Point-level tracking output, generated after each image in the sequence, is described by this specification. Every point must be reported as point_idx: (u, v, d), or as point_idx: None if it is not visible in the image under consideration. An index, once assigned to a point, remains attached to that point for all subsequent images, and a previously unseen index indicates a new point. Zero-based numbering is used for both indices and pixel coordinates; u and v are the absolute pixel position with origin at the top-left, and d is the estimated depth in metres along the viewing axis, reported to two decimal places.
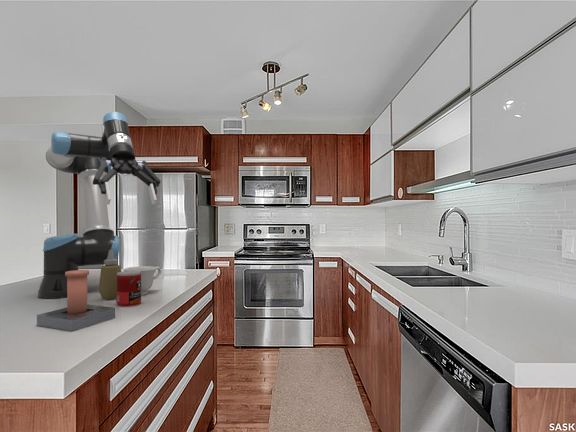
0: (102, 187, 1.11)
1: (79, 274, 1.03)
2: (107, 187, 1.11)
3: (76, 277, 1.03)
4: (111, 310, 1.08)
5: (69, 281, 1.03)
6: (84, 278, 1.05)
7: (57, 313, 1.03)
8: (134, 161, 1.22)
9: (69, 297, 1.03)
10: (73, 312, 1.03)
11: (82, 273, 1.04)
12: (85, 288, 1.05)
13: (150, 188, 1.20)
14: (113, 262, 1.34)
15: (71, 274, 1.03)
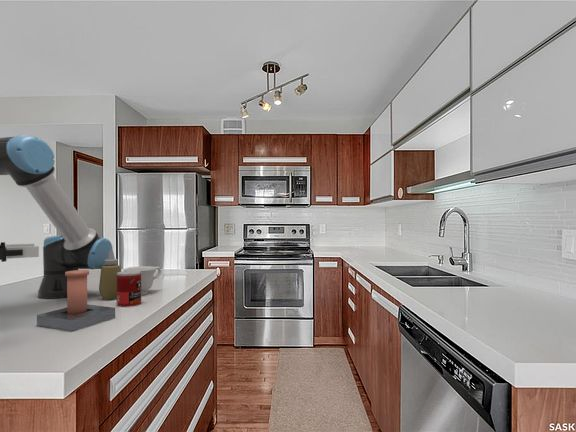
0: None
1: (79, 274, 1.03)
2: None
3: (76, 277, 1.03)
4: (111, 310, 1.08)
5: (69, 281, 1.03)
6: (84, 278, 1.05)
7: (57, 313, 1.03)
8: None
9: (69, 297, 1.03)
10: (73, 312, 1.03)
11: (82, 273, 1.04)
12: (85, 288, 1.05)
13: None
14: (113, 262, 1.34)
15: (71, 274, 1.03)
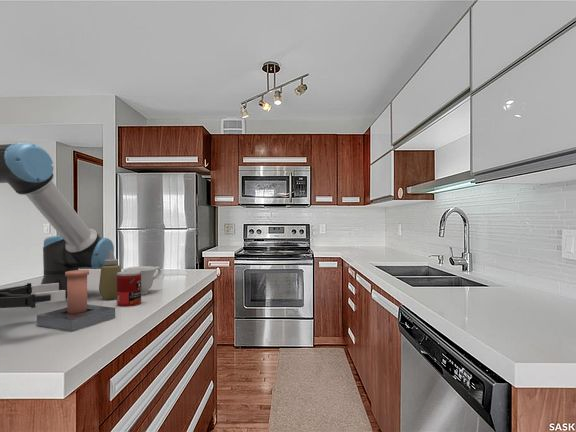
0: None
1: (79, 274, 1.03)
2: None
3: (76, 277, 1.03)
4: (111, 310, 1.08)
5: (69, 281, 1.03)
6: (84, 278, 1.05)
7: (57, 313, 1.03)
8: None
9: (69, 297, 1.03)
10: (73, 312, 1.03)
11: (82, 273, 1.04)
12: (85, 288, 1.05)
13: None
14: (113, 262, 1.34)
15: (71, 274, 1.03)
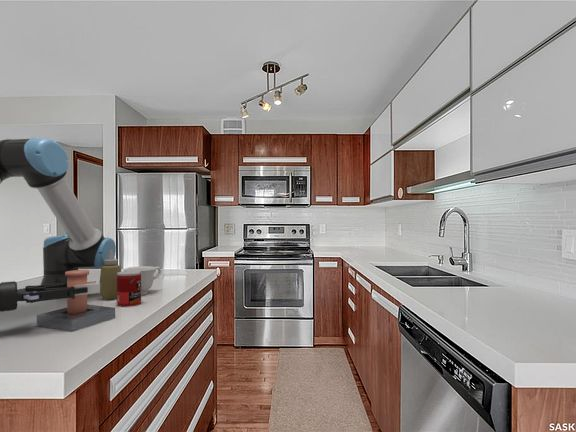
0: None
1: (79, 274, 1.03)
2: None
3: (76, 277, 1.03)
4: (111, 310, 1.08)
5: (69, 281, 1.03)
6: (84, 278, 1.05)
7: (57, 313, 1.03)
8: (24, 300, 0.95)
9: None
10: (73, 312, 1.03)
11: (82, 273, 1.04)
12: None
13: None
14: (113, 262, 1.34)
15: (71, 274, 1.03)
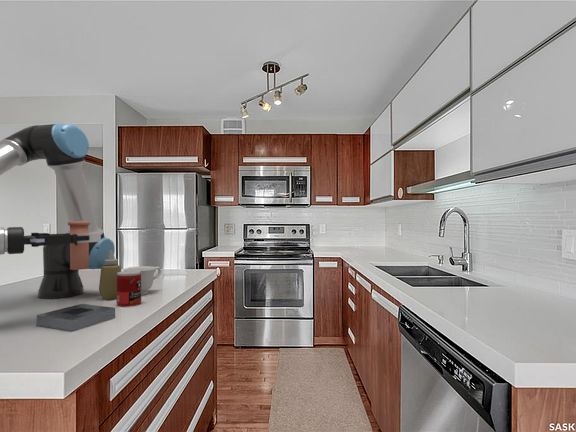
0: None
1: (81, 223, 1.11)
2: None
3: (78, 226, 1.11)
4: (111, 310, 1.08)
5: (72, 230, 1.11)
6: (86, 227, 1.13)
7: (57, 313, 1.03)
8: (31, 244, 1.03)
9: (72, 244, 1.11)
10: (76, 259, 1.11)
11: (84, 222, 1.11)
12: None
13: None
14: (113, 262, 1.34)
15: (73, 223, 1.10)
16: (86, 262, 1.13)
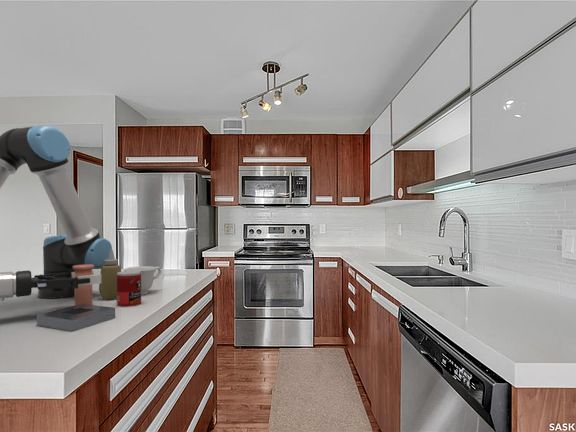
0: None
1: (85, 268, 1.16)
2: None
3: (82, 270, 1.16)
4: (111, 310, 1.08)
5: (76, 274, 1.16)
6: (90, 271, 1.18)
7: (57, 313, 1.03)
8: (37, 287, 1.08)
9: None
10: (80, 302, 1.16)
11: (88, 267, 1.17)
12: None
13: None
14: (113, 262, 1.34)
15: (78, 268, 1.16)
16: (89, 304, 1.18)
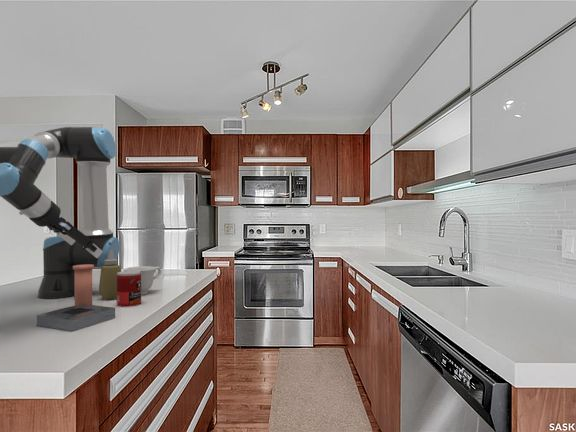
0: None
1: (85, 268, 1.16)
2: (62, 237, 1.20)
3: (82, 270, 1.16)
4: (111, 310, 1.08)
5: (76, 274, 1.16)
6: (90, 271, 1.18)
7: (57, 313, 1.03)
8: (56, 225, 1.07)
9: (76, 288, 1.16)
10: (80, 302, 1.16)
11: (88, 267, 1.17)
12: (90, 280, 1.18)
13: None
14: (113, 262, 1.34)
15: (78, 268, 1.16)
16: (89, 304, 1.18)
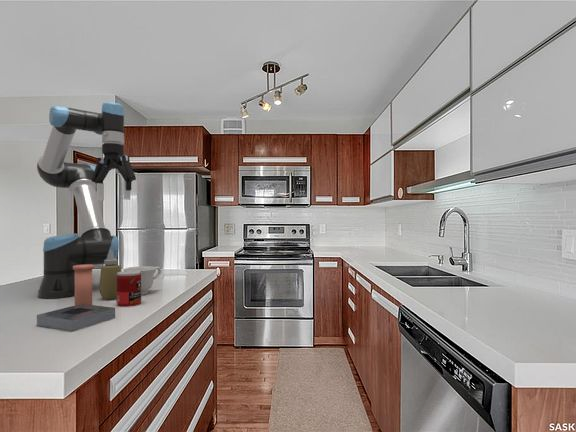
0: (96, 187, 1.42)
1: (85, 268, 1.16)
2: (97, 188, 1.41)
3: (82, 270, 1.16)
4: (111, 310, 1.08)
5: (76, 274, 1.16)
6: (90, 271, 1.18)
7: (57, 313, 1.03)
8: (116, 157, 1.37)
9: (76, 288, 1.16)
10: (80, 302, 1.16)
11: (88, 267, 1.17)
12: (90, 280, 1.19)
13: None
14: (113, 262, 1.34)
15: (78, 268, 1.16)
16: (89, 304, 1.18)
